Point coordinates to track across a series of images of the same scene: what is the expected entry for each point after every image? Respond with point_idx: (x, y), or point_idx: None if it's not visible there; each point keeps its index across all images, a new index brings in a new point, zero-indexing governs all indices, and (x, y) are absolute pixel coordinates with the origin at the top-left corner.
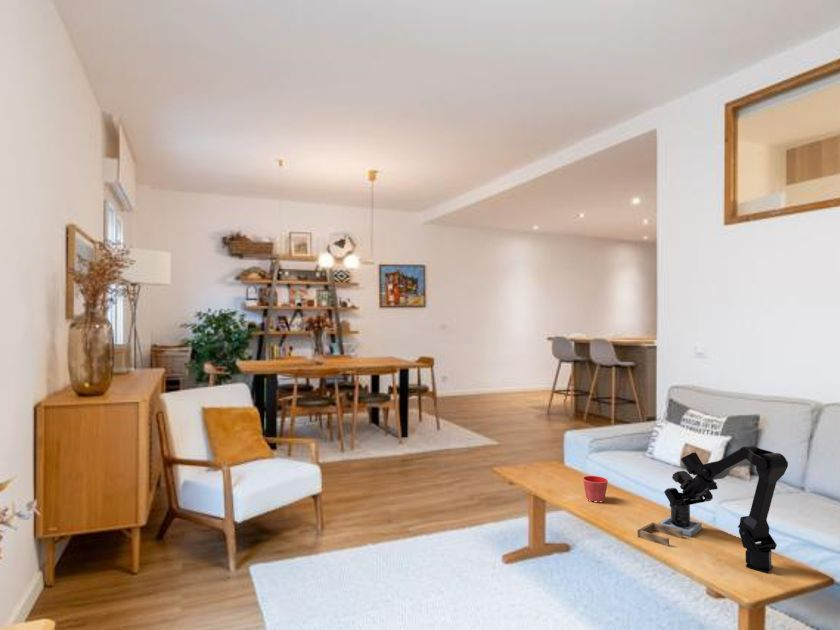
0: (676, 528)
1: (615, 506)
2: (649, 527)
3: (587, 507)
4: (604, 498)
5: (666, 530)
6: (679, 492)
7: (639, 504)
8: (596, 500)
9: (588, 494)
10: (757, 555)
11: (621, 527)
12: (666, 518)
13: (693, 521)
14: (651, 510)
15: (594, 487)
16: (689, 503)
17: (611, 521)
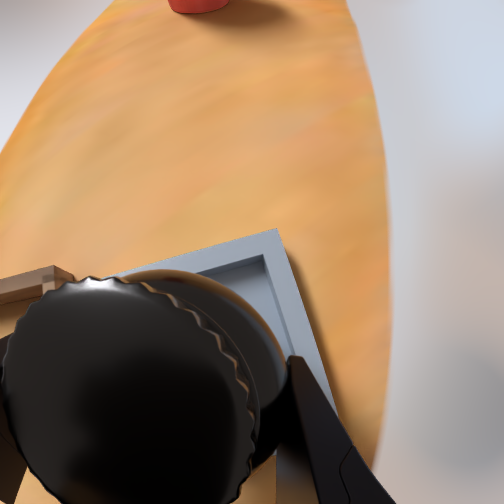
0: None
1: (202, 37)
2: (10, 294)
3: (114, 31)
4: (212, 2)
5: None
6: (201, 342)
7: (314, 56)
8: (176, 6)
9: None
10: None
11: (6, 195)
12: (200, 253)
13: (324, 386)
14: (307, 106)
15: None
16: (280, 456)
17: (37, 134)
